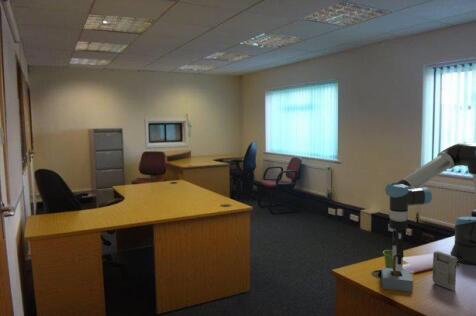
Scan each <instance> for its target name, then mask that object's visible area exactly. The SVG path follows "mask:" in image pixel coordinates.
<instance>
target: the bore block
mask: <svg viewBox="0 0 476 316" xmlns="http://www.w3.org/2000/svg"><path fill="white" fill-rule="evenodd" d="M380 271H381V274H380V278H381V283H382V288H383V289H384V290H385V289H386V290H393V291H394V290H395V291H401V292H402V291H403V292H411V293H413V292H414V291H413V290H414V280H413V277H412V274H411V272H410V270H409V269H402V271H401V272H400V276H393V269H392V268H386V267H381V270H380Z"/></svg>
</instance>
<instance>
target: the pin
mask: <svg viewBox="0 0 476 316" xmlns="http://www.w3.org/2000/svg"><path fill="white" fill-rule="evenodd" d="M400 272H401V271H396V257H395V256H393V276H400Z"/></svg>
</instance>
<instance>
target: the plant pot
mask: <svg viewBox="0 0 476 316" xmlns="http://www.w3.org/2000/svg"><path fill="white" fill-rule="evenodd" d="M382 253H383V257H384V263H385V268H392V269H393V259H392V254H393V249H384V250H383V251H382Z"/></svg>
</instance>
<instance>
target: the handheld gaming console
mask: <svg viewBox="0 0 476 316" xmlns="http://www.w3.org/2000/svg"><path fill="white" fill-rule="evenodd" d="M457 263H458V262H457V257H455V256H452V255H450V254H448V253H445V252H442V251H439V250H436V251H434V252H433V259H432V278H431V279H432V281H433V283H434V284H435V285H438V286H440V287H443V288H445V289H448V290H451V291H455V290H456V282H457Z"/></svg>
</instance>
